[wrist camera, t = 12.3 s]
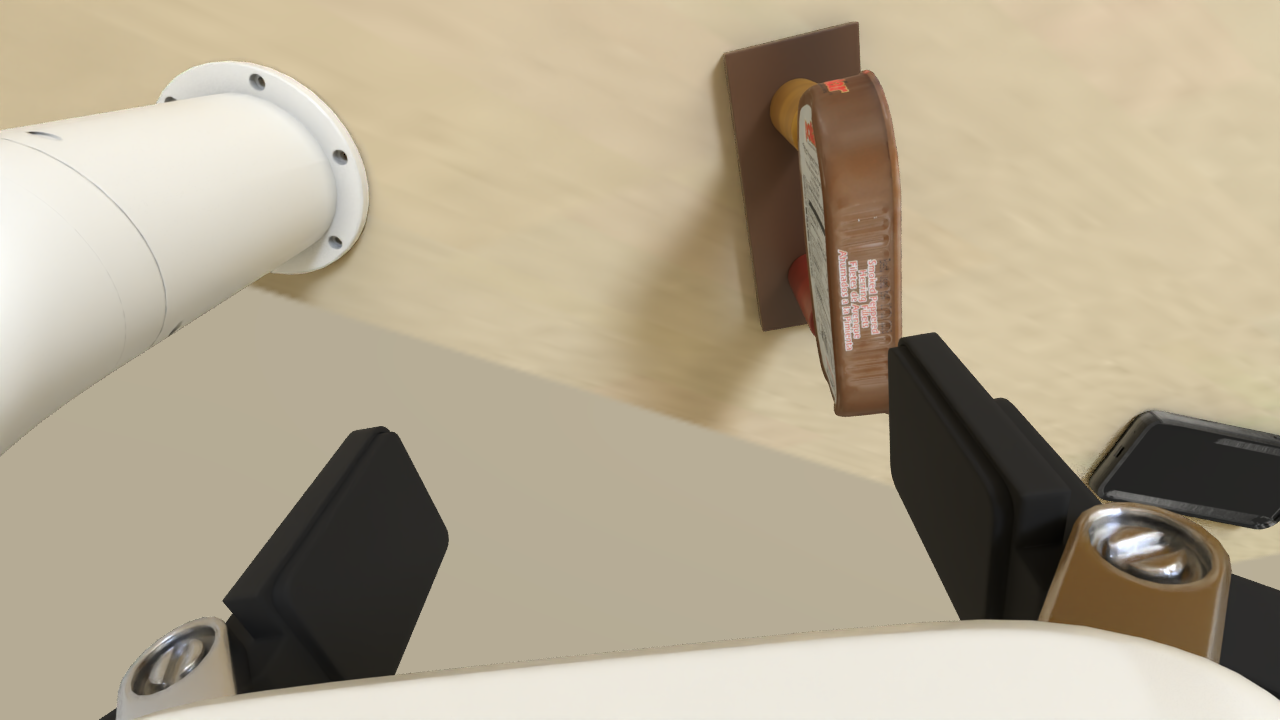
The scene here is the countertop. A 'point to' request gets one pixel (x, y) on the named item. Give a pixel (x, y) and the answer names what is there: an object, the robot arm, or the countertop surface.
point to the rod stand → (780, 157)
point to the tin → (852, 236)
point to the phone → (1195, 470)
